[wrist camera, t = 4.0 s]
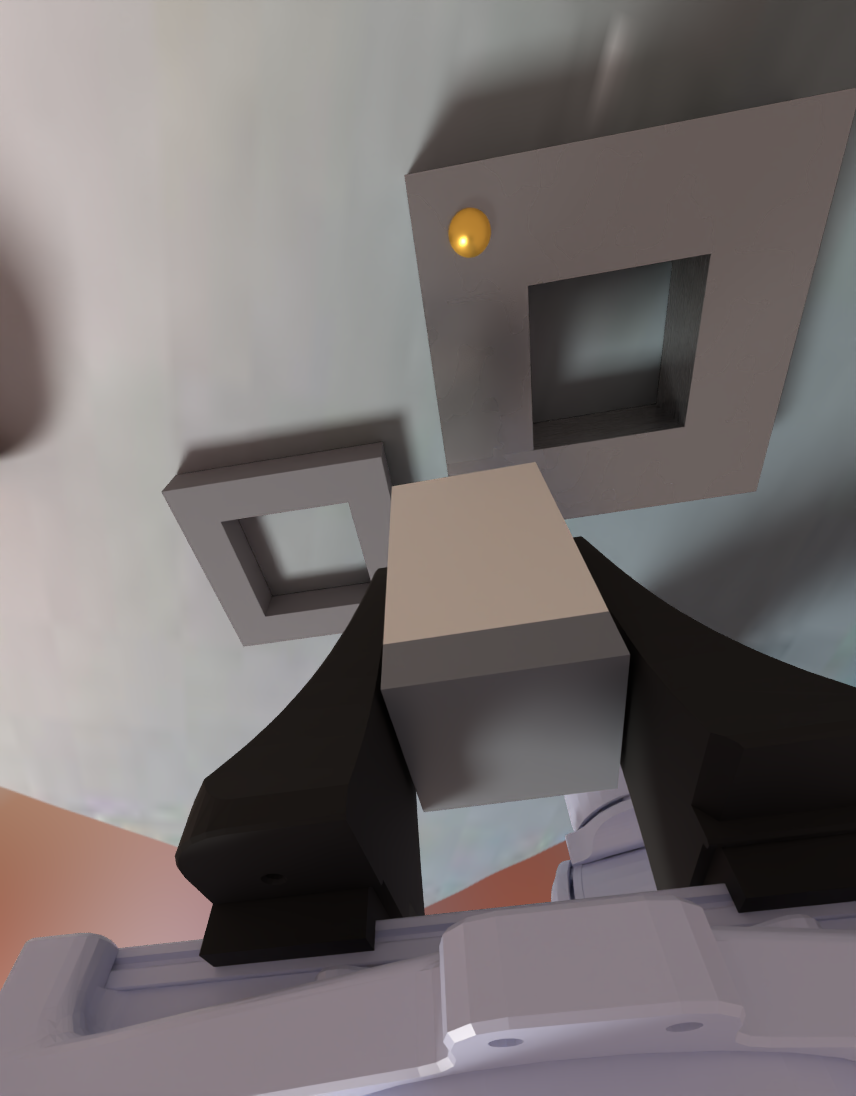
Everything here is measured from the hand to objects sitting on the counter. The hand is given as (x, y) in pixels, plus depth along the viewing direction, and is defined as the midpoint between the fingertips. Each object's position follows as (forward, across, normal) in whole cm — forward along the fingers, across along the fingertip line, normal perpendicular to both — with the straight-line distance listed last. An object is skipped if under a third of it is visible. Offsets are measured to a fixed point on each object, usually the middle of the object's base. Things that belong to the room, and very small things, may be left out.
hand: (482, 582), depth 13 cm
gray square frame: (+9, +8, +4) cm, 13 cm away
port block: (+9, -6, -3) cm, 11 cm away
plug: (+2, 0, 0) cm, 2 cm away
